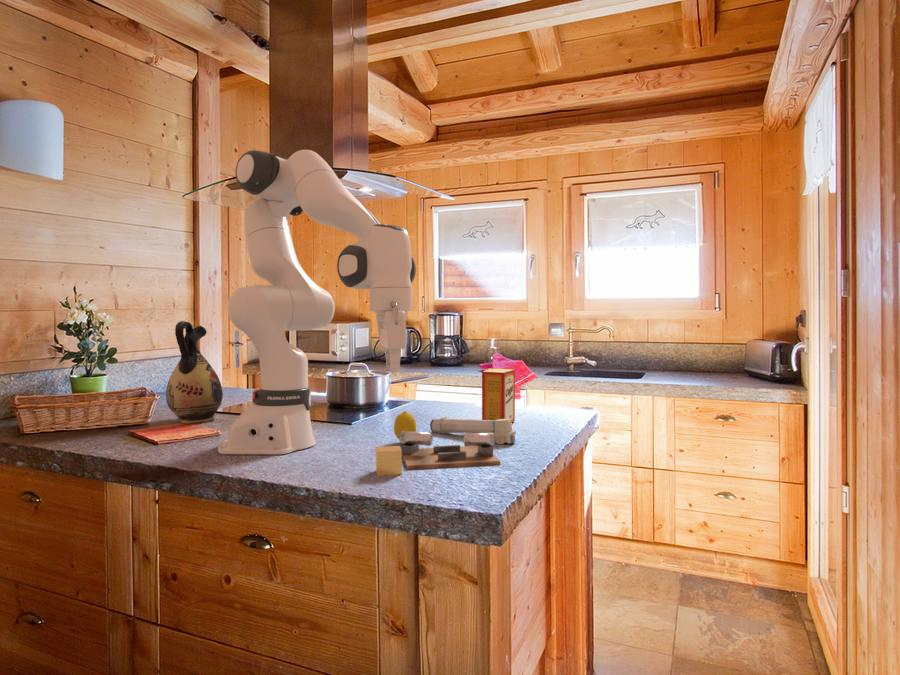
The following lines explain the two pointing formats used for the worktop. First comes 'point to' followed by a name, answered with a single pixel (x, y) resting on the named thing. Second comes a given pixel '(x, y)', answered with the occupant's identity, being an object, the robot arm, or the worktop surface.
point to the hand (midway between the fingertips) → (392, 369)
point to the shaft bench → (448, 457)
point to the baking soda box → (498, 394)
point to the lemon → (404, 423)
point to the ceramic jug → (193, 380)
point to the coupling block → (388, 460)
